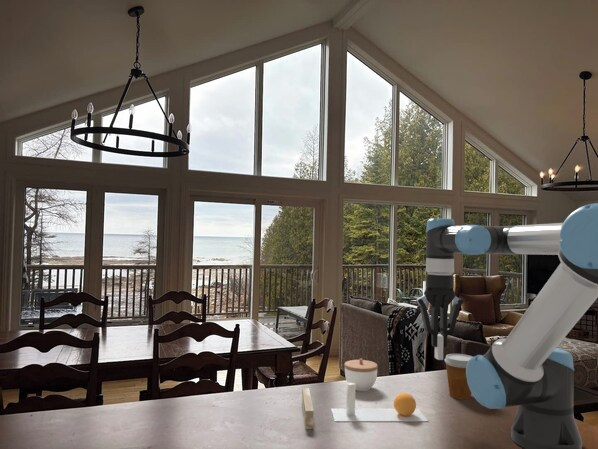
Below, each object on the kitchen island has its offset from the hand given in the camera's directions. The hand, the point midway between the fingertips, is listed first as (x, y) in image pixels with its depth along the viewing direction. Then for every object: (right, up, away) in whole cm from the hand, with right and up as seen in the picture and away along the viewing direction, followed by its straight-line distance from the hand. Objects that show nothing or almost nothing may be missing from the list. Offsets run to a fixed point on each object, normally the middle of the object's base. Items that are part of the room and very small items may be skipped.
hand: (438, 358), depth 129 cm
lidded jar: (-19, -16, +22) cm, 33 cm away
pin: (-25, -15, -2) cm, 29 cm away
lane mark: (-17, -15, -1) cm, 23 cm away
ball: (-10, -12, -1) cm, 16 cm away
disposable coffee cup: (+11, -16, +16) cm, 25 cm away
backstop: (-37, -15, -2) cm, 40 cm away
